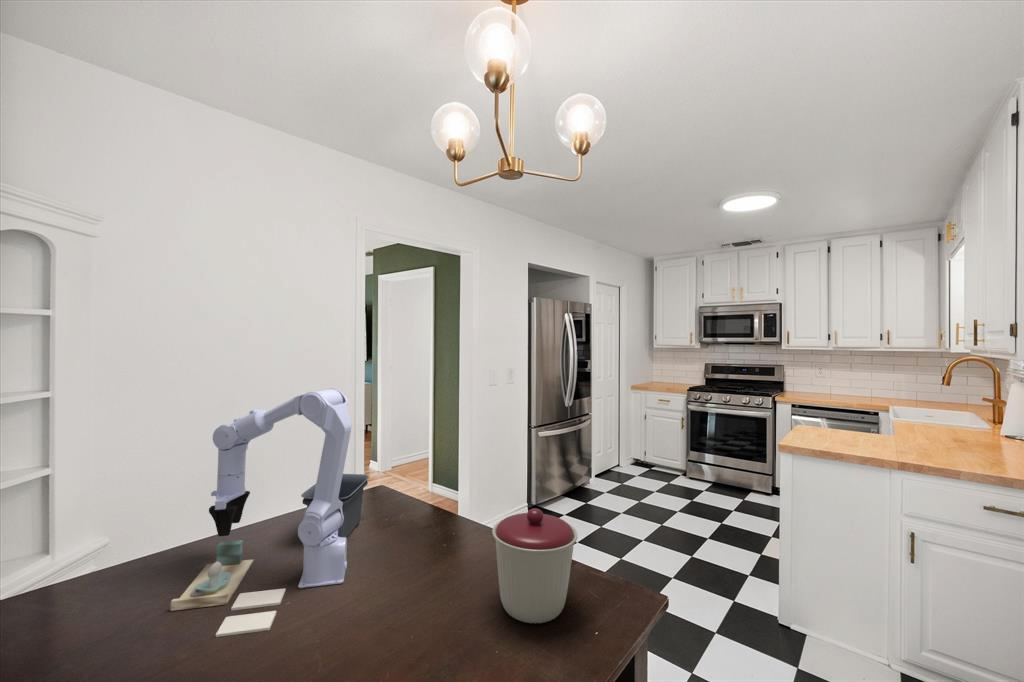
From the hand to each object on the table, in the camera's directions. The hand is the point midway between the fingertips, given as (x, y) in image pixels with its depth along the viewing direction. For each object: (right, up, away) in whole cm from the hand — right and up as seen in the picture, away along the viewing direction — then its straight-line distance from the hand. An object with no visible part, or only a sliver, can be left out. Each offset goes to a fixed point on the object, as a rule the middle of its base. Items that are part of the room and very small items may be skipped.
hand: (229, 528), depth 107 cm
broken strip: (+16, -10, -17) cm, 26 cm away
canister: (+73, -11, -14) cm, 75 cm away
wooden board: (+2, -9, -7) cm, 12 cm away
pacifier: (+3, -9, -11) cm, 14 cm away
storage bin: (+17, -10, +20) cm, 28 cm away
